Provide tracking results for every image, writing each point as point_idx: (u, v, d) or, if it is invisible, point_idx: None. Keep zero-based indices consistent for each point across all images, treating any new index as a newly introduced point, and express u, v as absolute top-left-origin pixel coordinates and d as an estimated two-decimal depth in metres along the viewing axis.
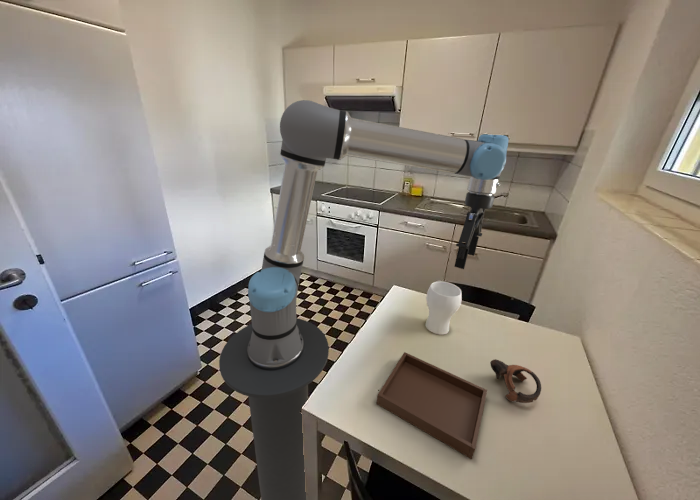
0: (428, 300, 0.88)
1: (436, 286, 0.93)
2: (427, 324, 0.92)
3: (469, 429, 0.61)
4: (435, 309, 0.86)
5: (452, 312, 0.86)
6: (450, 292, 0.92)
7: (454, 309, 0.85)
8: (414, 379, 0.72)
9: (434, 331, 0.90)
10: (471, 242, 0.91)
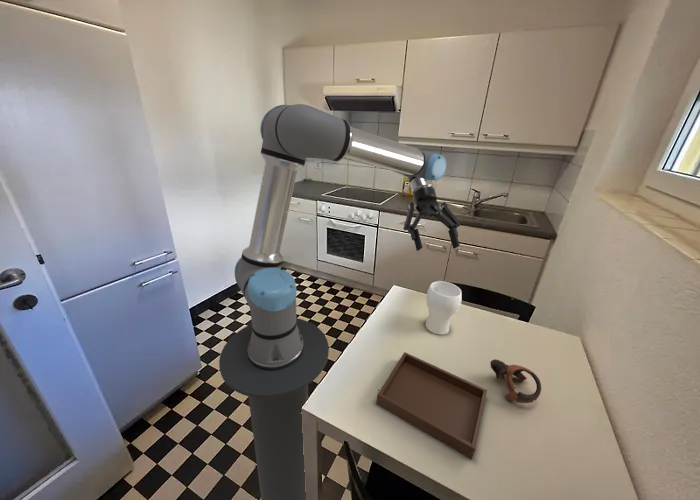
0: (428, 300, 0.88)
1: (436, 286, 0.93)
2: (427, 324, 0.92)
3: (469, 429, 0.61)
4: (435, 309, 0.86)
5: (452, 312, 0.86)
6: (450, 292, 0.92)
7: (454, 309, 0.85)
8: (414, 379, 0.72)
9: (434, 331, 0.90)
10: (451, 235, 0.94)
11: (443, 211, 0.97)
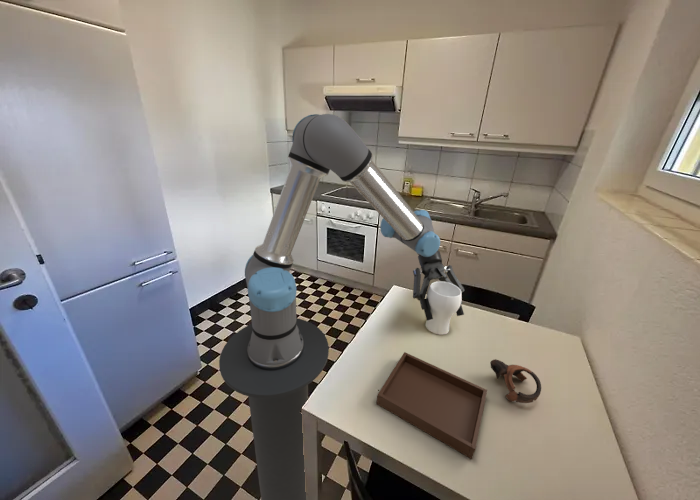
0: (428, 300, 0.88)
1: (436, 286, 0.93)
2: (427, 324, 0.92)
3: (469, 429, 0.61)
4: (436, 309, 0.86)
5: (452, 312, 0.86)
6: (450, 292, 0.92)
7: (454, 309, 0.85)
8: (414, 379, 0.72)
9: (434, 331, 0.90)
10: None
11: (448, 274, 0.95)
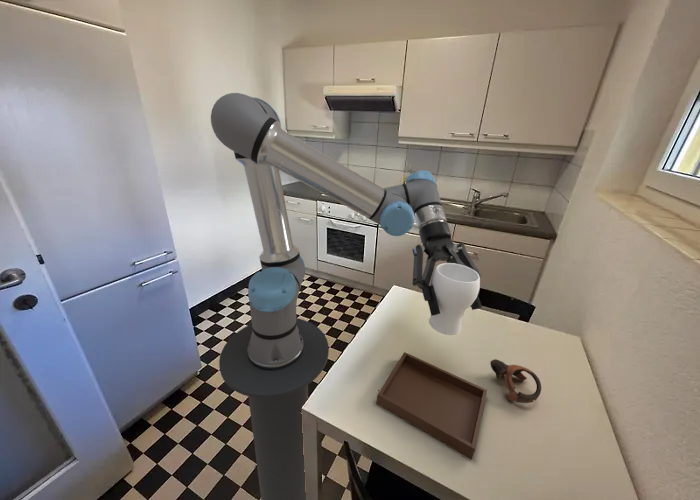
0: None
1: (443, 270, 0.69)
2: (431, 321, 0.69)
3: (469, 429, 0.61)
4: (444, 300, 0.62)
5: (467, 304, 0.62)
6: (462, 278, 0.68)
7: (470, 300, 0.61)
8: (414, 379, 0.72)
9: (441, 330, 0.66)
10: None
11: (459, 254, 0.71)
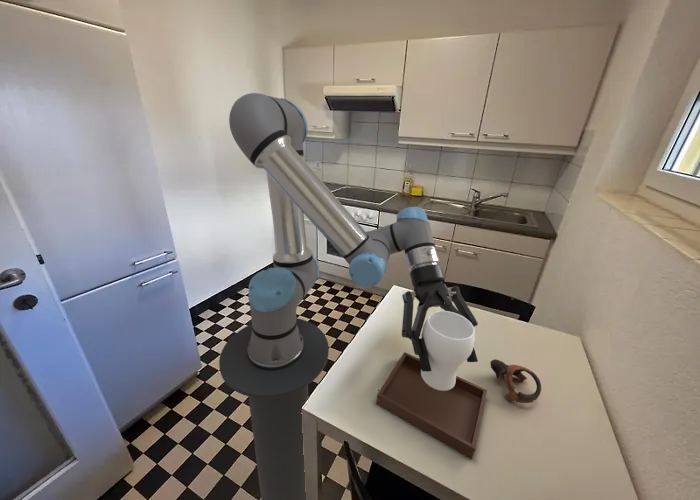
0: None
1: (436, 318, 0.63)
2: (423, 373, 0.63)
3: (469, 429, 0.61)
4: (436, 356, 0.57)
5: (461, 361, 0.56)
6: (457, 326, 0.63)
7: (464, 357, 0.56)
8: (414, 379, 0.72)
9: (434, 385, 0.61)
10: None
11: (454, 299, 0.66)
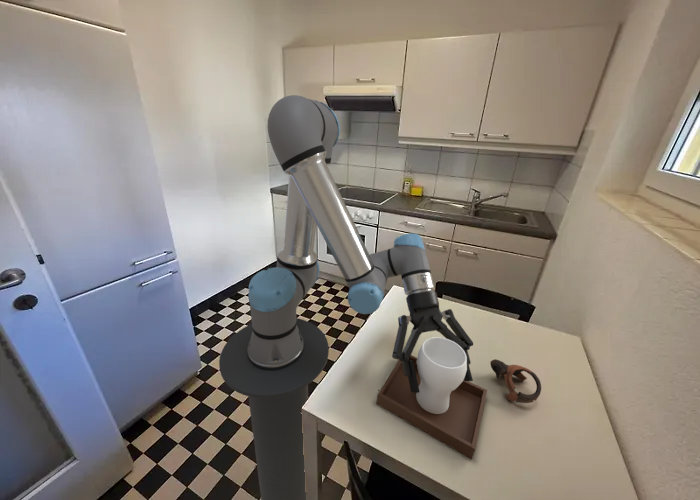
0: (419, 368, 0.62)
1: (430, 343, 0.66)
2: (418, 397, 0.66)
3: (469, 429, 0.61)
4: (429, 383, 0.60)
5: (453, 388, 0.59)
6: (450, 352, 0.66)
7: (456, 384, 0.59)
8: None
9: (428, 409, 0.64)
10: None
11: (448, 321, 0.69)
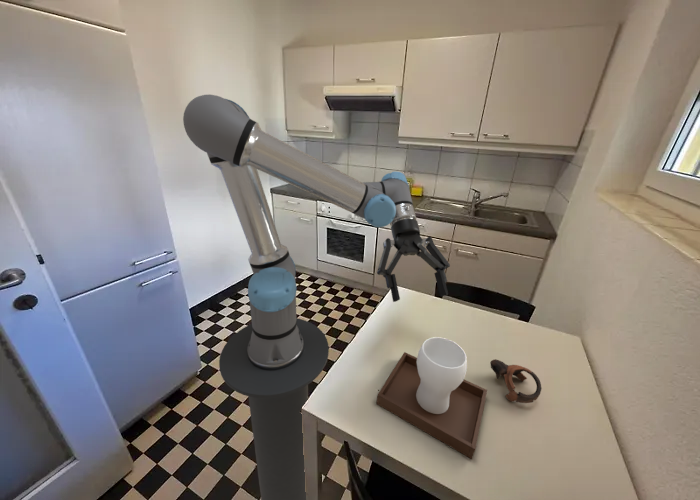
0: (419, 368, 0.62)
1: (430, 343, 0.66)
2: (418, 397, 0.66)
3: (469, 429, 0.61)
4: (429, 383, 0.60)
5: (453, 388, 0.59)
6: (450, 352, 0.66)
7: (456, 384, 0.59)
8: (414, 379, 0.72)
9: (428, 409, 0.64)
10: (438, 280, 0.74)
11: (428, 248, 0.77)
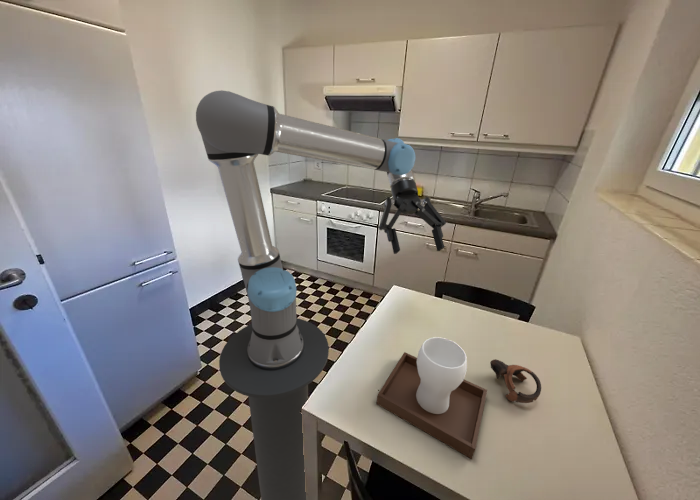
0: (419, 368, 0.62)
1: (430, 343, 0.66)
2: (418, 397, 0.66)
3: (469, 429, 0.61)
4: (429, 383, 0.60)
5: (453, 388, 0.59)
6: (450, 352, 0.66)
7: (456, 384, 0.59)
8: (414, 379, 0.72)
9: (428, 409, 0.64)
10: (435, 236, 0.80)
11: (426, 208, 0.84)
